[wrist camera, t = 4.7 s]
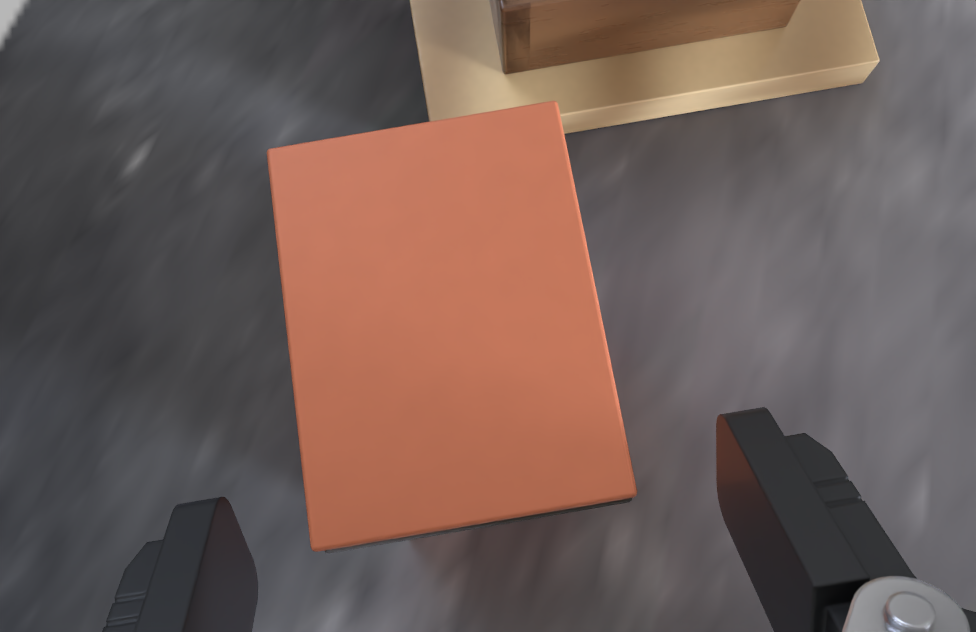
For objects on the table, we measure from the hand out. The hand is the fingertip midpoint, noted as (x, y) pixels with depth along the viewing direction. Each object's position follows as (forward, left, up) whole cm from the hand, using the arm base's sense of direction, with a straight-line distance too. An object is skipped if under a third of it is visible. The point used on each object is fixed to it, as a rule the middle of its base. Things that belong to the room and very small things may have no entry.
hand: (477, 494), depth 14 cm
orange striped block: (0, +3, -8) cm, 8 cm away
